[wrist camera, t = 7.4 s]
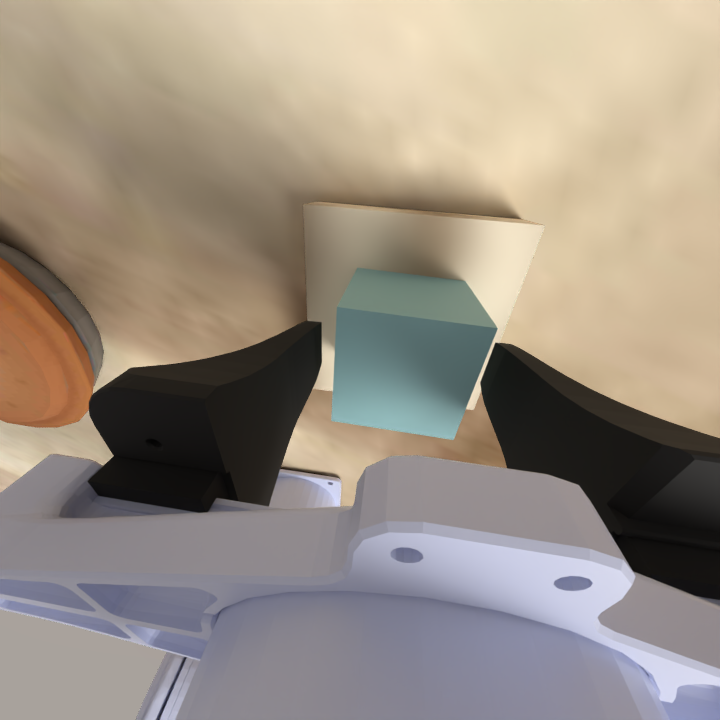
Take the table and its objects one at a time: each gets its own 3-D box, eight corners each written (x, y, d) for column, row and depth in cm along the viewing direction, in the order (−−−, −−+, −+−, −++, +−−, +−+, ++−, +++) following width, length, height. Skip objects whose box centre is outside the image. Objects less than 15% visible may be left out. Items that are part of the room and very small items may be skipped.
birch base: (319, 366, 19) (309, 388, 17) (317, 201, 14) (302, 204, 12) (465, 384, 19) (473, 409, 16) (522, 219, 13) (545, 225, 11)
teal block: (350, 357, 16) (331, 420, 11) (357, 267, 13) (336, 306, 9) (438, 370, 15) (453, 439, 11) (465, 281, 13) (497, 328, 8)
